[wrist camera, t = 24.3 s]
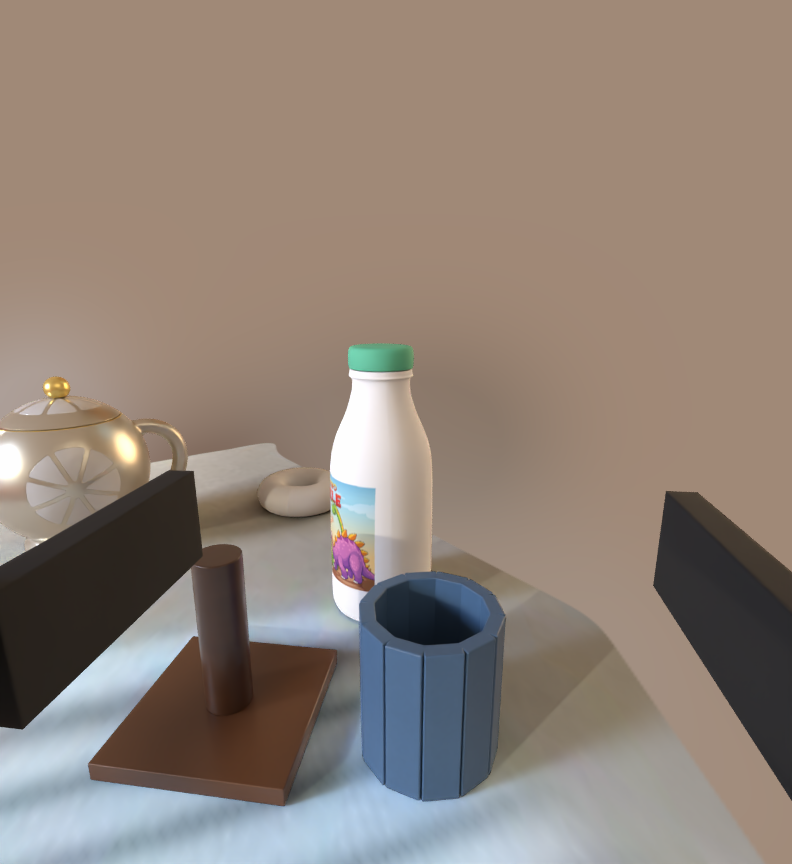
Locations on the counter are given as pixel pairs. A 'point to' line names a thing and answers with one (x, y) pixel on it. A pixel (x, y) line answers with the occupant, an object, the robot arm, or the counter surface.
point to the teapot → (71, 460)
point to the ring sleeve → (430, 683)
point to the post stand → (222, 703)
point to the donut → (296, 492)
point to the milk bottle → (379, 478)
